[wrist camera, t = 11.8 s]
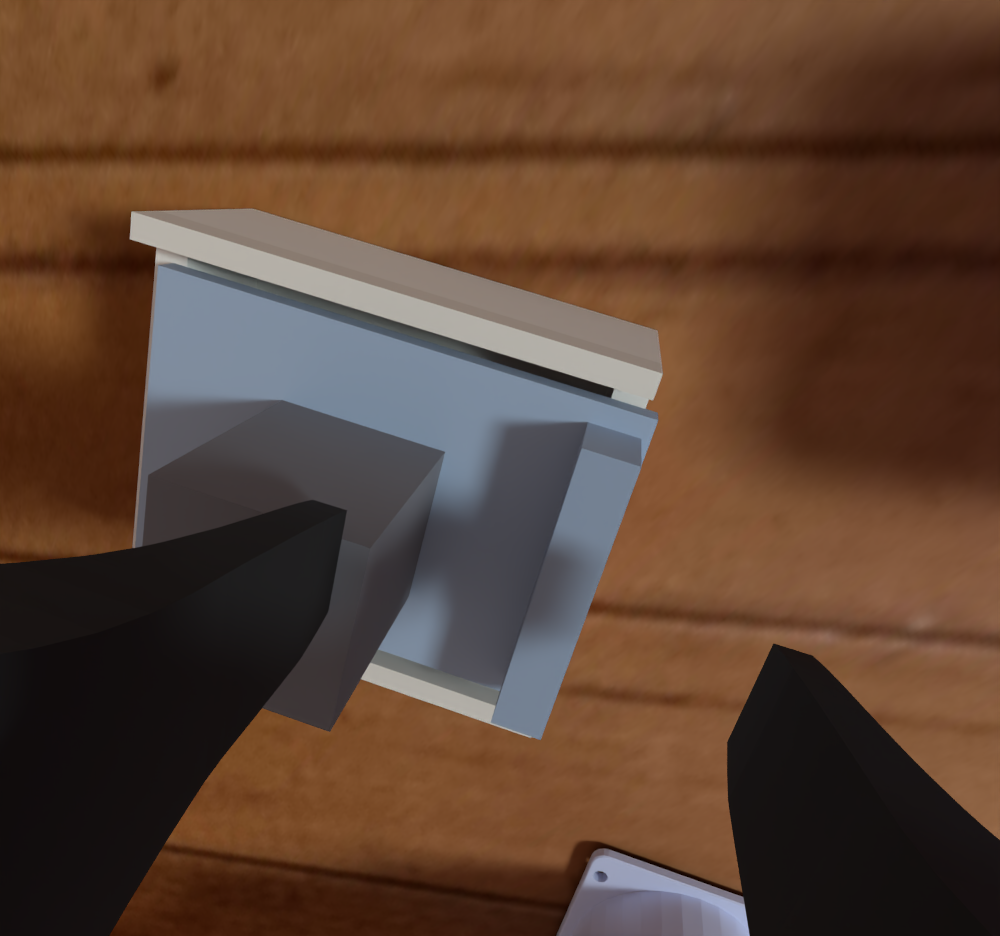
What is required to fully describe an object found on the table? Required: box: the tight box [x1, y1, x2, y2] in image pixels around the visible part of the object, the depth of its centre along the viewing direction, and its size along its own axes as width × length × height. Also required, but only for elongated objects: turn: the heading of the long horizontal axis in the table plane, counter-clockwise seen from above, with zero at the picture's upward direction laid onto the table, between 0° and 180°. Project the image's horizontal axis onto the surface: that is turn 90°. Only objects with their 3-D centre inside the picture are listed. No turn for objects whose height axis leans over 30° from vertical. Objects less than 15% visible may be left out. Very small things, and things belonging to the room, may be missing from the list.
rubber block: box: [142, 400, 445, 732], centre depth 15 cm, size 4×4×5 cm
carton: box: [130, 209, 663, 738], centre depth 20 cm, size 10×12×5 cm
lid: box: [135, 263, 658, 740], centre depth 17 cm, size 8×12×2 cm
